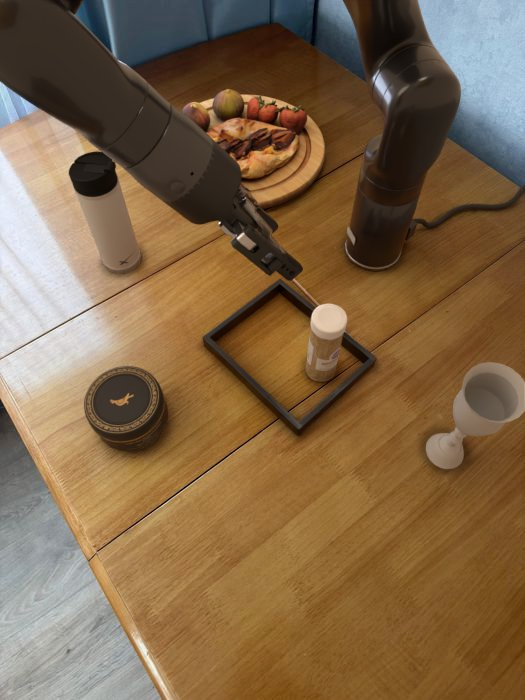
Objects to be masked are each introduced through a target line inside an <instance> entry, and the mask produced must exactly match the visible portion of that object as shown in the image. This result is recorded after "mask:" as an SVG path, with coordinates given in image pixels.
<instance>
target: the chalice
mask: <svg viewBox="0 0 525 700" xmlns="http://www.w3.org/2000/svg"><path fill="white" fill-rule="evenodd" d="M452 404H453V405H452V418H453V422H454V425H455V428H454V430H452V431H451V432H440V433H435V434H433V435H431V436H430V437H429V438H428V439H427V441H426V444H425V453H426V456H427V458H428V459H429V461H430V462H431V463H432V464H433V465H434V466H436V467H438V468H440V469H444V470H452V469H456V468H457V467H459V466H460V465H461V464H462V463H463V460H464V458H465V457H464V455H465V451H464V446H463V441H464V439H465V438H466V437H467V436H469V437H476V438H477V437H484V436H491V435H493V434H495V433H497V432H499V431H500V430H501V429H502V427H504V425H506V424H507V423H509V422H513V421H514V420H516V419H519V418H520V417H521V416H522V415H523V414H524V413H525V380H524V379H523V377H522V376H521V374H520V373H518V372H517V371H515V369H513V368H512V367H509V366H508V365H505V364H503V363H500V362H493V361H488V362H482V363H481V362H480V363H479V364H476V365H474V366H472V368H470V369H469V370H468V371H467V372H466V373H465V376H464V378H463V380H462V386H461V388H460V390H459V391H458V393H457V394H456V396H455V397H454V400H453V402H452Z"/></svg>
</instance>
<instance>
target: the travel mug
mask: <svg viewBox="0 0 525 700" xmlns="http://www.w3.org/2000/svg"><path fill="white" fill-rule="evenodd" d="M116 169H117V163H116V162H115V161H113V160H112V159H111V158H109V157H108V156H107V155H105V154H104V153H103V152H101V151H100V150H99V151H98V150H97V151H90V152H86V153H83V154H81V155H79V156H78V157H76V158H75V159H74V161H73V163H72V164H71V165H70V166H69V169H68V176H69V179H70V181H71V184H72V188H73V190H74V192H75V195H76V197H77V201H78V202H79V205H80V208H81V211H82V213H83V216H84V218H85V221H86V222H87V226H88V228H89V230H90V234H91V236H92V238H93V240H94V243H95V245H96V248H97V251H98V253H99V256H100V258H101V261H102V264H103V265H104V268H105V269H106V270H107V271H108V272H110V273H111V274H117V275H124V274H128V273H130V272H132V271H134V270H135V269H137V268H138V266H139V265H140V263H141V261H142V254H141V251H140V247H139V244H138V240H137V237H136V234H135V230H134V226H133V224H132V220H131V216H130V213H129V210H128V207H127V203H126V200H125V199H126V198H125V196H124V193H123V190H122V186H121V183H120V180H119V176H118V174H117V172H116Z"/></svg>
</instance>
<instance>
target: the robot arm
mask: <svg viewBox="0 0 525 700" xmlns="http://www.w3.org/2000/svg"><path fill="white" fill-rule="evenodd" d="M83 2H84V0H0V83H1V84H2V85H4V86H5V87H7V89H9V90H10V91H12V92H13V93H15V95H17V96H18V97H20V98H22V99H23V100H25V101H26V102H28V103H30V105H32V106H34V107H36V108H38V109H39V110H41V111H42V112H43V113H45V114H47V115H48V116H50V117H52V118H53V119H55V120H56V121H58V122H61V123H62V124H64V125H66V126H68V128H71V129H73V130H75V131H76V132H77V133H78V134H79V135H80V136H81V137H83V138H84V139H85V140H86V141H87V142H88V143H89V144H91V145H93V147H95V148H96V149H98V150H99V152H103V153H104V154H105V155H107V156H108V157H109V158H111V159H112V160H113V161H114V162H115V164H116V165H119V166H120V167H121V168H122V169H123V170H125V171H126V172H127V173H128V174H129V175H130V176H131V177H132V178H133V179H134V180H135V181H136V182H137V183H138V184H139V185H140V186H142V187H143V188H144V189H145V190H147V191H148V192H150V193H151V194H152V195H154V196H155V197H156V198H157V199H159V200H160V201H161V202H163V203H164V204H166V205H167V206H168V207H170V208H171V209H172V210H174V211H175V212H176V213H178V215H180V216H181V217H182V218H184V219H185V220H187V221H188V222H189V223H191V224H193V225H198V226H200V225H206V224H209V223H212V222H218V223H217V224H218V227H219V228H220V229H221V230H222V231H223V233H225V235H227V236H229V237H231V238H233V239H231V240H230V241H229V242H230V245H231V247H232V248H233V249H234V250H235V251H237V252H238V253H240V254H241V255H242V256H243V257H245V258H246V259H247V260H248V261H250V262H251V263H252V264H254V266H256V267H257V268H258V269H259V270H261V271H262V272H263V273H264V274H265V275H267V276H269V277H271V276H272V275H273V274H274V273H277V274H279V275H280V276H281V277H282V278H283V279H285V280H286V281H289V282H291V281H293V280H294V279H295V278H297V277H298V276H299V275H300V274H301V273H302V272H304V267H303V265H302V264H301V262H299V260H297V259H295V257H294V256H293V255H291V254H290V253H289V252H288V251H287V250H285V248H284V247H283V245H281V244H280V243H279V242H278V241H277V240H276V239H275V238H274V237H273V234H274V233H275V232H276V231H277V230H278V229H279V224H278V222H277V221H276V220H275V219H274V218H273V217H272V216H271V215H270V214H268V213H267V212H266V211H265V209H262V208H260V207H258V206H259V204H258V203H257V202H258V201H257V200H256V199H254V197H253V196H252V195H251V193H250V190H249V189H248V188H246V187H245V186H243V185H242V184H241V178H242V173H241V168H240V166H239V164H238V163H237V161H236V160H234V159H233V158H232V157H231V156H230V155H229V154H228V153H227V152H226V151H225V150H224V149H223V148H222V147H221V146H220V145H218V144H217V143H216V142H215V141H214V140H213V139H212V138H211V137H210V136H209V135H208V134H207V133H206V132H205V131H204V130H202V129H201V128H200V127H199V126H198V125H197V124H196V123H195V122H194V121H193V120H192V119H190V118H189V117H188V116H187V115H185V114H184V113H183V112H182V111H181V110H180V109H178V108H177V107H175V106H174V105H173V104H171V103H170V102H169V100H167V99H166V97H165V96H163V95H162V94H161V93H160V92H159V91H158V90H157V89H156V88H155V87H154V86H152V85H151V84H150V83H149V82H148V81H147V80H146V79H144V77H142V76H141V74H139V73H138V72H137V71H136V70H134V69H133V68H132V67H130V66H128V65H127V64H126V63H125V62H122V61H120V60H119V59H118V58H117V57H116V56H115V55H114V54H113V53H112V51H110V50H109V49H108V48H107V46H106V45H105V44H103V43H102V41H101V40H100V39H99V38H98V37H97V36H96V35H95V34H94V33H93V32H92V31H91V30H90V29H89V28H88V27H87V26H86V25H85V24H84V23H83V22H82V21H81V20H80V19H79V18H78V17H77V16H76V14H77V13H78V11H79V9H80V8H81V5H82V4H83ZM342 2H343V4H344V6H345V8H346V10H347V12H348V14H349V16H350V19H351V21H352V24H353V27H354V29H355V32H356V36H357V41H358V45H359V46H358V47H359V50H360V54H361V60H362V65H363V70H364V75H365V81H366V86H367V90H368V93H369V96H370V99H371V101H372V103H373V105H374V107H375V108H376V110H377V112H378V114H379V116H380V117H381V119H382V121H383V122H384V124H383V130H382V133H379V134H377V135H375V136H374V137H372V138H371V139H370V140H369V141H368V142H367V144H366V145H365V147H364V149H363V155H362V158H361V163H360V169H359V175H358V179H357V185H356V190H355V195H354V200H353V205H352V209H351V210H352V211H351V215H350V220H349V225H347V229H346V233H347V235H346V239H345V241H344V252H345V255H346V257H347V258H348V260H349V261H350V262H351V263H352V264H353V265H355V266H357V267H358V268H360V269H362V270H366V271H373V272H378V271H384V270H388V269H390V268H392V267H394V266H395V265H396V264H397V262H398V261H399V260H400V258H401V254H402V249H403V247H404V245H405V242H408V241H409V240H411V238H413V237H414V236H415V233H416V229H417V227H418V224H419V225H421V226H423V227H424V228H427V229H431V228H435V227H437V226H439V225H441V224H442V223H444V221H446V220H448V219H449V218H450V217H452V216H453V215H454V214H457V213H459V212H462V211H466V210H490V211H491V210H501V209H506V208H508V207H511V206H512V205H514V204H515V203H516V202H517V201H518V200H519V199H520V198H521V197H522V196H523V194H524V193H525V184H523V185H522V186H521V187H520V188H519V189H518V191H517V192H516V193H515V194H514V196H513V197H511V199H509V200H508V201H506V202H501V203H495V204H494V203H493V204H490V203H489V204H488V203H487V204H486V203H466V204H462V205H458V206H456V207H454V208H452V209H450V210H448V211H447V212H445V213H444V214H443V215H442V216H441V217H439V218H437V219H436V220H434V221H431V222H428V221H427V220H426V219H424V218H414V216H415V213H416V209H417V206H418V203H419V199H420V195H421V193H422V190H423V187H424V184H425V182H426V178H427V175H428V172H429V170H430V169H431V168H432V167H433V165H434V164H435V163H436V162H437V160H438V158H439V157H440V155H441V153H442V151H443V149H444V147H445V143H446V141H447V138H448V136H449V133H450V131H451V129H452V127H453V124H454V121H455V119H456V117H457V113H458V110H459V107H460V104H461V97H462V86H461V81H460V80H459V78H458V76H457V75H456V73H455V72H454V71H453V69H452V68H451V66H450V65H449V64H448V62H447V61H446V60H445V58H444V57H443V56H442V54H441V53H440V51H438V49H437V48H436V46H435V45H434V43H433V41H432V39H431V37H430V35H429V32H428V30H427V27H426V23H425V21H424V18H423V13H422V10H421V6H420V3H419V0H342ZM257 207H258V208H257Z"/></svg>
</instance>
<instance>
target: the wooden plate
mask: <svg viewBox="0 0 525 700" xmlns="http://www.w3.org/2000/svg"><path fill="white" fill-rule="evenodd" d="M301 107H302V105H298V106H297V107H296V106H294V105H293V104H290V103H288V102H286V101H283V100H280V99H277V98H275V97H269V96H266V95H265V96H264V95H259V94H240V93H239V91H236V90H234V89H232V88H231V89H230V88H226V89H224V90H221V91H220V92H218V93H217V94H216V95H215V96H214V98H209V99H206V100H203V101H201V102H196V101H193V102H189V103H187V104H186V105H185V106H184V107H183V108H182V111H181V112H183V113H184V114H185V115H187V116H188V117H189V118H190V119H192V120H193V121H194V122H195V123H196V124H197V125H198V126H199V127H200V128H201V129H202V130H204V131H205V132H206V133H207V134H208V135H209V136H210V137H211V138H212V139H213V140H214V141H215V142H216V143H217V144H218V145H220V146H221V147H222V148H223V149H224V150H225V151H226V152H227V153H228V154H229V155H230V156H231V157H232V158H233V159H234V160H236V161H237V163H238V164H239V166H240V168H241V173H242V178H241V184H242V185H243V186H245V187H246V188H248V189H249V190H250V193H251V195H252V196H253V197H254V199H256V200H257V201H258V202H257V203H258V204H259V206H258V207H260V208H262V209H263V210H265V209H268V208H269V209H270V208H272V207H275V206H279V205H281V204H283V203H286V202H288V201H290V200H292V199H294V198H297V196H300V195H301V194H302V193H303V192H305V191H306V190H307V189H308V188H309V187H310V186H311V185H313V183H314V182H315V181H316V179H317V178H318V177H319V175H320V174H321V172H322V169H323V166H324V164H325V160H326V153H327V152H326V151H327V150H326V142H325V139H324V135H323V133H322V130H321V129H320V127H319V126H318V124H317V123H316V122H315V121H314V120H313V119H312V117H310V116H309V115H308V113H307V111H306V110H305V108H301ZM258 207H257V208H258Z"/></svg>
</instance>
